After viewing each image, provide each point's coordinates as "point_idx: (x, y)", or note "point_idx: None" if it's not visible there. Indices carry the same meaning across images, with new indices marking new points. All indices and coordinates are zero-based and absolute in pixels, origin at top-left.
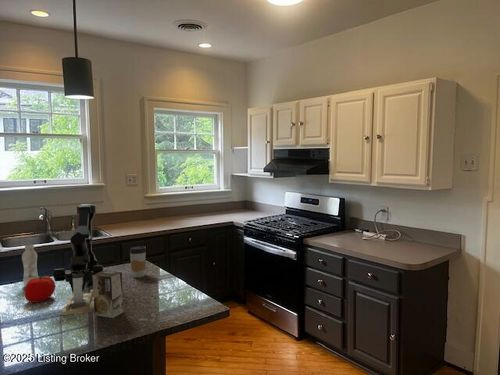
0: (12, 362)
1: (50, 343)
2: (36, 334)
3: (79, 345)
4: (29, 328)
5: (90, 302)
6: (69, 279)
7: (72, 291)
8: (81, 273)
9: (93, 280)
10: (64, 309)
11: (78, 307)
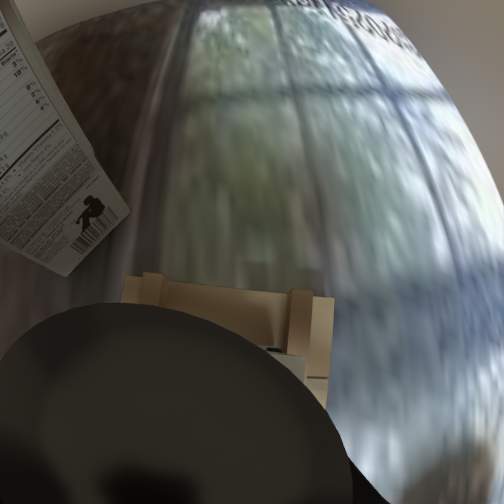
0: (380, 19)
1: (316, 41)
2: (391, 118)
3: (226, 10)
4: (441, 192)
5: None
6: (363, 499)
7: (277, 348)
8: (5, 408)
9: (22, 21)
10: (320, 335)
11: None
